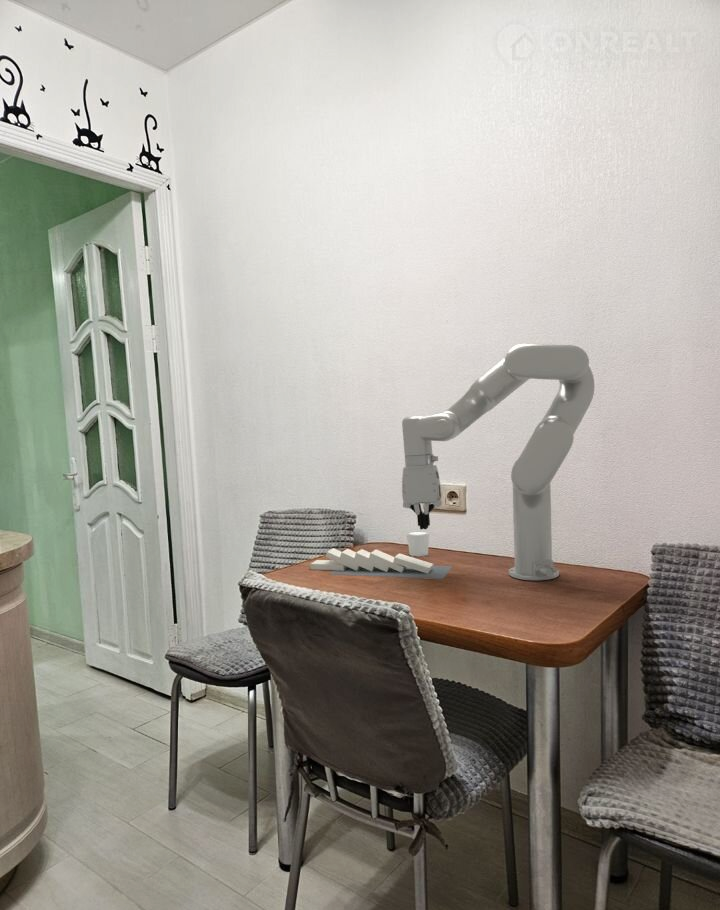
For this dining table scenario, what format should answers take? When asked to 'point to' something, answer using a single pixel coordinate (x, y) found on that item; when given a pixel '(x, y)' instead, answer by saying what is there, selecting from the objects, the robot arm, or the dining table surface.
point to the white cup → (418, 543)
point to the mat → (397, 572)
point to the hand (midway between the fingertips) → (424, 528)
